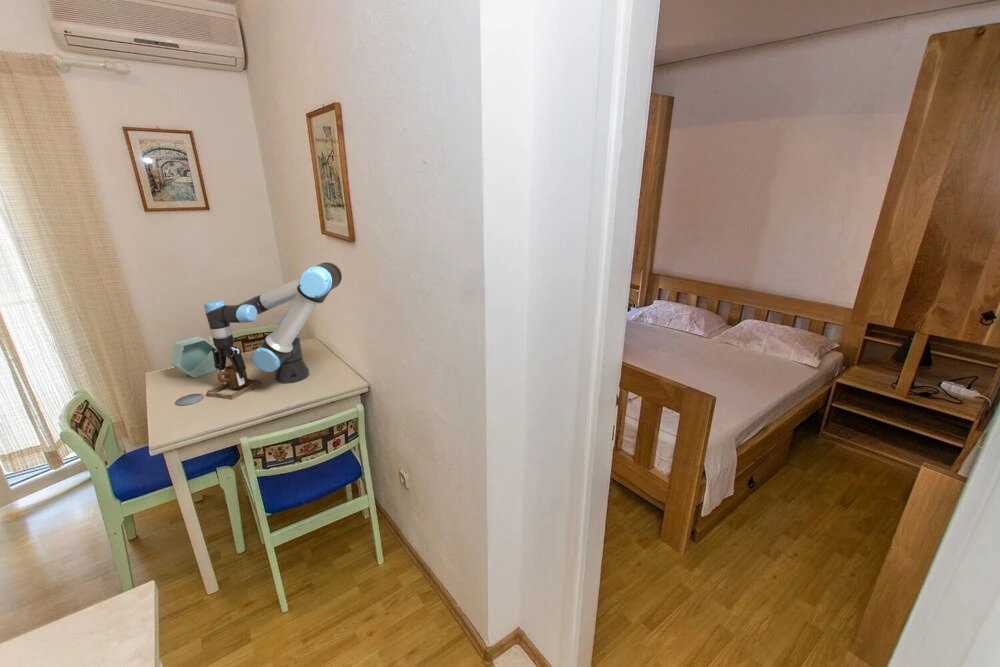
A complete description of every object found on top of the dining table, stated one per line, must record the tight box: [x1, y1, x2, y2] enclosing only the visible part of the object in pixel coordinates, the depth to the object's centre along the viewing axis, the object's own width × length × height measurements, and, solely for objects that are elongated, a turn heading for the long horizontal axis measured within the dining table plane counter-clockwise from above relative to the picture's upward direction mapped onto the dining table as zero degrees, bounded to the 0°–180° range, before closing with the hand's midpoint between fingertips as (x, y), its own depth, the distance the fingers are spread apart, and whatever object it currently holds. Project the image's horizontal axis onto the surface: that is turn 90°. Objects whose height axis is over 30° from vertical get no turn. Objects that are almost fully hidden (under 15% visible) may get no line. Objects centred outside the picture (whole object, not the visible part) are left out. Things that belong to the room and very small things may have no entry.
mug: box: [216, 363, 249, 389], centre depth 195 cm, size 12×8×9 cm, turn 151°
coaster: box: [175, 393, 204, 407], centre depth 188 cm, size 10×10×1 cm
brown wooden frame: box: [205, 377, 262, 400], centre depth 197 cm, size 14×17×2 cm
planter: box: [169, 335, 217, 378], centre depth 213 cm, size 17×8×21 cm
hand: (234, 383), depth 196 cm, fingers closed on mug, 7 cm apart
